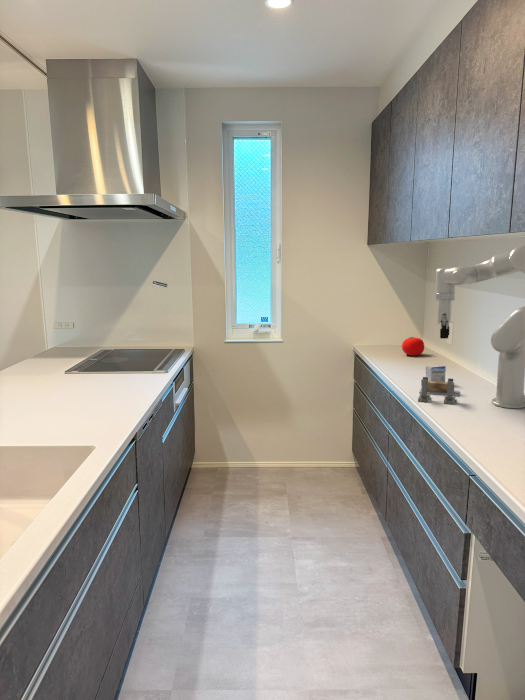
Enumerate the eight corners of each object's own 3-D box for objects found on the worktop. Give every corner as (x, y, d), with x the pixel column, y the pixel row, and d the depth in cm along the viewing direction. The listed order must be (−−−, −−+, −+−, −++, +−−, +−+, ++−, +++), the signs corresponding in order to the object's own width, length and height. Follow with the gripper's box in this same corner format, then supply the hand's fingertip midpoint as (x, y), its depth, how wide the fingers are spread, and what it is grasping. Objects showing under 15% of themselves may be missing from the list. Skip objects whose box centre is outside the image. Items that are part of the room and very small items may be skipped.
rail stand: (455, 399, 199) (456, 378, 198) (454, 404, 192) (455, 382, 191) (420, 396, 205) (420, 376, 204) (418, 401, 198) (418, 380, 196)
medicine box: (430, 385, 223) (431, 367, 221) (425, 383, 227) (425, 365, 226) (445, 384, 225) (446, 366, 223) (439, 382, 229) (440, 364, 228)
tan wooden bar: (454, 391, 209) (454, 382, 208) (453, 393, 206) (454, 384, 206) (425, 389, 214) (425, 380, 213) (424, 391, 211) (424, 382, 211)
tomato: (426, 356, 290) (427, 338, 288) (403, 357, 291) (404, 338, 289) (421, 353, 302) (421, 335, 300) (399, 353, 303) (399, 335, 301)
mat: (459, 391, 211) (459, 390, 211) (458, 396, 204) (458, 395, 203) (421, 388, 217) (421, 387, 217) (419, 393, 210) (419, 392, 210)
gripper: (437, 296, 213) (436, 334, 216) (434, 298, 197) (434, 339, 200) (455, 295, 210) (454, 334, 213) (453, 298, 194) (453, 339, 197)
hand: (444, 336), depth 206 cm, fingers open, 9 cm apart
